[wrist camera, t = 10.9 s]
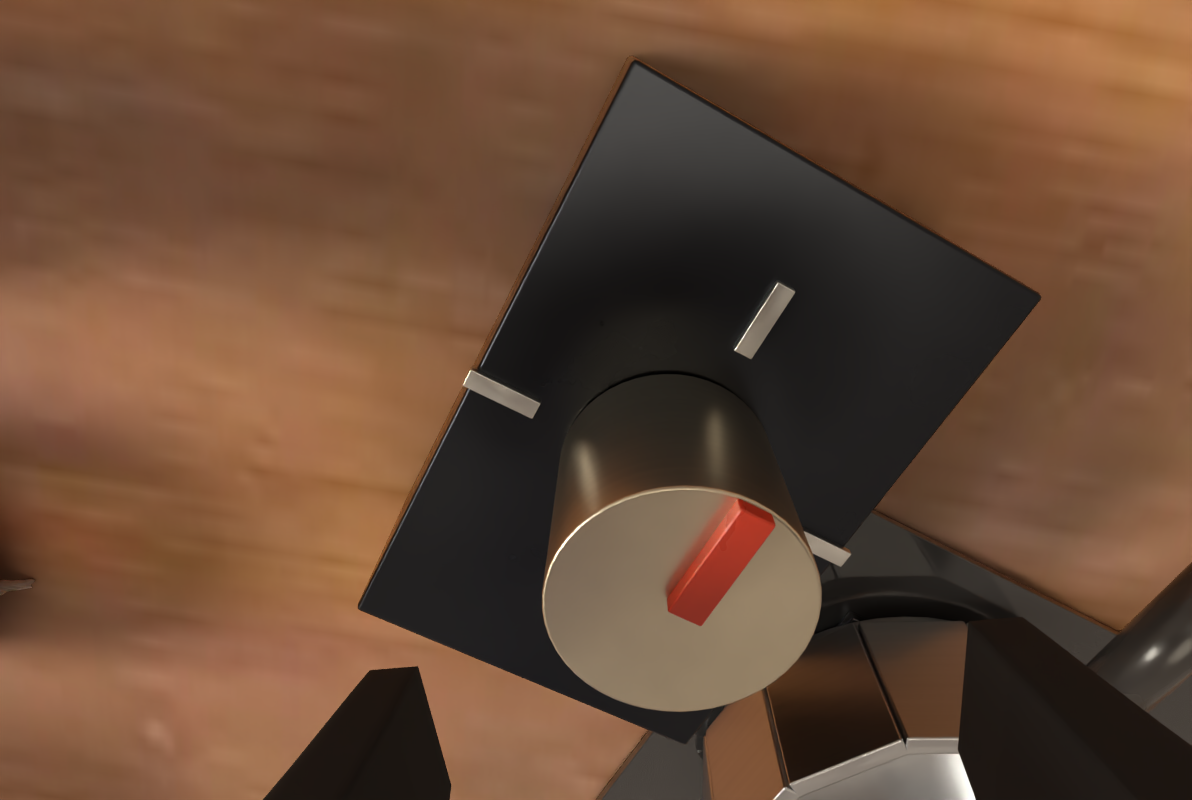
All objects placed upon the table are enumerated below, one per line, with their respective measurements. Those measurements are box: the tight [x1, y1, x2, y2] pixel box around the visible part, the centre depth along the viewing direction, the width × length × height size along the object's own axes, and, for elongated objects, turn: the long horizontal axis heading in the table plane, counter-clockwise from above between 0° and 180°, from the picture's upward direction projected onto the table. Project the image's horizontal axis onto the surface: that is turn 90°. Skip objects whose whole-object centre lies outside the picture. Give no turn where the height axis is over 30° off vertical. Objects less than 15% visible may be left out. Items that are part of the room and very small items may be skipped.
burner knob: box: [542, 374, 822, 712], centre depth 13 cm, size 4×4×4 cm
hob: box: [596, 510, 1192, 800], centre depth 24 cm, size 21×13×1 cm, turn 62°
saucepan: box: [702, 563, 1192, 800], centre depth 20 cm, size 16×10×5 cm, turn 152°
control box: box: [358, 56, 1041, 744], centre depth 17 cm, size 12×8×5 cm
